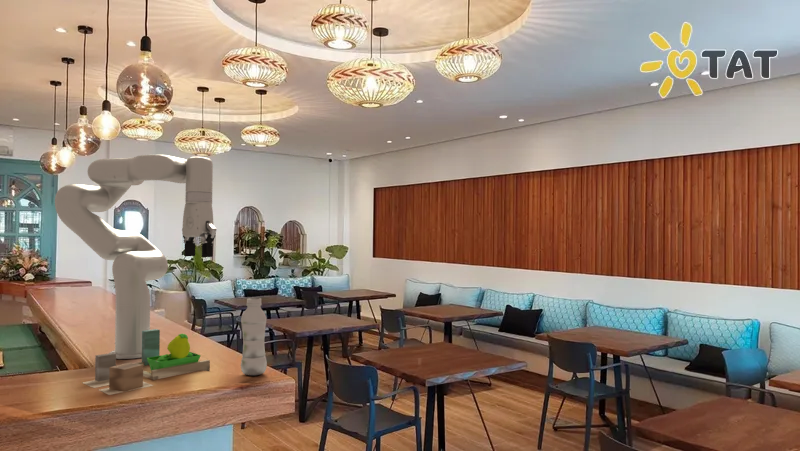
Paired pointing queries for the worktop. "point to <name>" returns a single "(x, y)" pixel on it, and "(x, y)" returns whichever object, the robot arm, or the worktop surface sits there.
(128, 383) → the walnut cube
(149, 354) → the wooden serving tray
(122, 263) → the robot arm
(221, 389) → the worktop surface
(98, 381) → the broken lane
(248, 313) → the plastic bottle
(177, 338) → the fruit basket
